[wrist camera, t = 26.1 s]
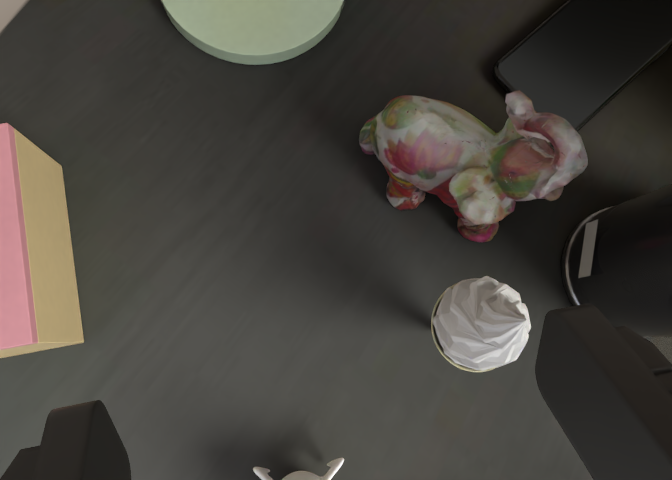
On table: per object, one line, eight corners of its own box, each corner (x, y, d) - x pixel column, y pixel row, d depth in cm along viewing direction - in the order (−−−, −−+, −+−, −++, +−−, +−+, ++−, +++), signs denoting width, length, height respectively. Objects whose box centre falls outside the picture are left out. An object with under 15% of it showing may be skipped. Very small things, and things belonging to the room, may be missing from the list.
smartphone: (557, 149, 43) (694, 23, 46) (563, 145, 42) (702, 17, 45) (484, 72, 43) (624, -48, 46) (488, 66, 42) (630, -56, 45)
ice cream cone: (425, 277, 40) (508, 241, 26) (486, 318, 40) (604, 305, 25) (386, 338, 39) (449, 336, 25) (448, 380, 39) (549, 404, 25)
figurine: (449, 275, 40) (545, 239, 26) (338, 148, 41) (370, 42, 27) (525, 207, 42) (658, 135, 27) (417, 86, 43) (489, -49, 28)
